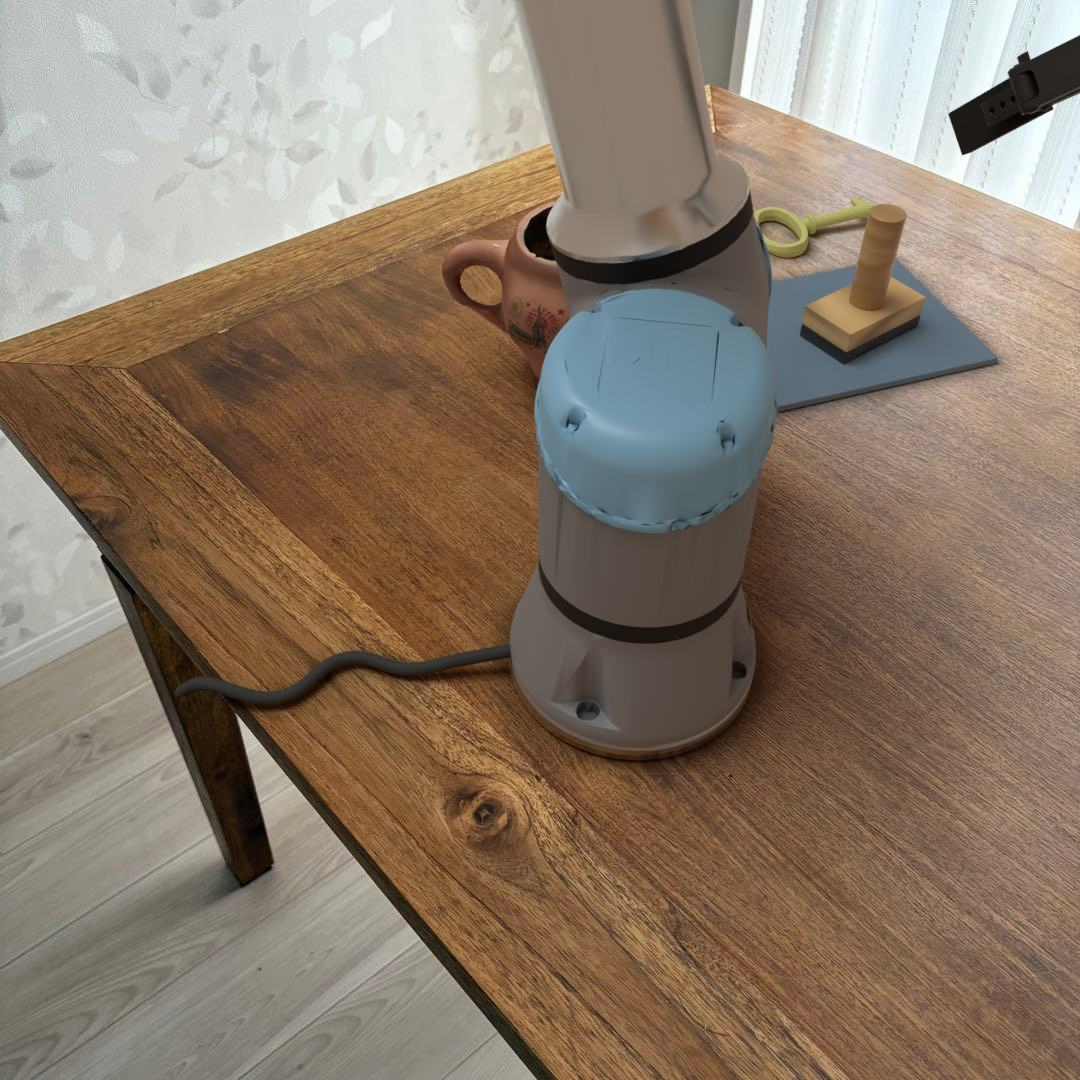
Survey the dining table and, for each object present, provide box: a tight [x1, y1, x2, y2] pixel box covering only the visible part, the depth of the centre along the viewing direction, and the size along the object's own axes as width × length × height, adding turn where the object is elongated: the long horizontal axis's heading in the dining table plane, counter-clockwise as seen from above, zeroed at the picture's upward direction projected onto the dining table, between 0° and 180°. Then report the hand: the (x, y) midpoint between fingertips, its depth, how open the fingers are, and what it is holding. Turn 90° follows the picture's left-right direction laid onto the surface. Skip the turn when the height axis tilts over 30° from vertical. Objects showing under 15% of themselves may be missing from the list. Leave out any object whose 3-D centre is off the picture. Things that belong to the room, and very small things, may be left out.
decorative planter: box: [441, 200, 570, 391], centre depth 85 cm, size 20×12×14 cm, turn 86°
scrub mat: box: [767, 257, 999, 413], centre depth 94 cm, size 20×16×1 cm
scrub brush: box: [800, 203, 926, 364], centre depth 89 cm, size 9×5×11 cm, turn 126°
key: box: [754, 196, 875, 259], centre depth 106 cm, size 7×12×2 cm, turn 124°
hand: (1035, 109), depth 71 cm, fingers open, 13 cm apart
